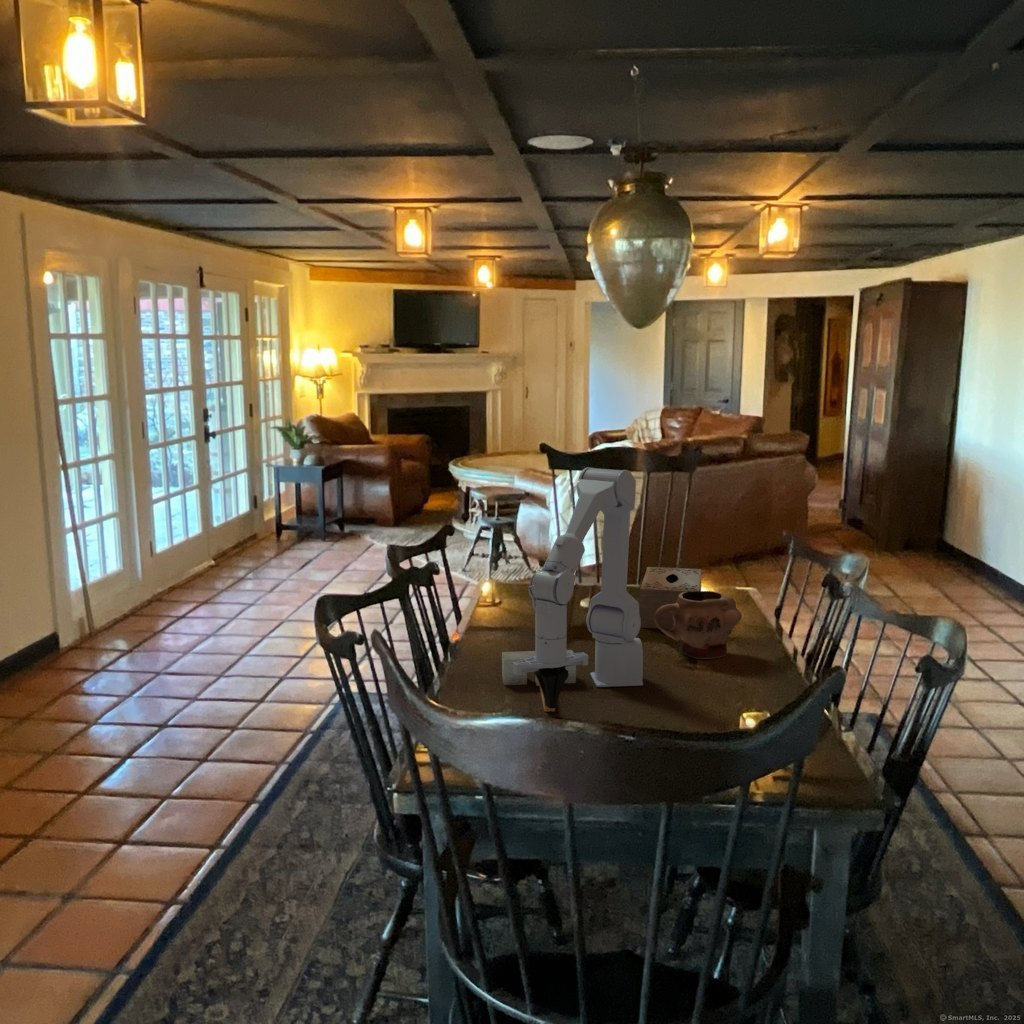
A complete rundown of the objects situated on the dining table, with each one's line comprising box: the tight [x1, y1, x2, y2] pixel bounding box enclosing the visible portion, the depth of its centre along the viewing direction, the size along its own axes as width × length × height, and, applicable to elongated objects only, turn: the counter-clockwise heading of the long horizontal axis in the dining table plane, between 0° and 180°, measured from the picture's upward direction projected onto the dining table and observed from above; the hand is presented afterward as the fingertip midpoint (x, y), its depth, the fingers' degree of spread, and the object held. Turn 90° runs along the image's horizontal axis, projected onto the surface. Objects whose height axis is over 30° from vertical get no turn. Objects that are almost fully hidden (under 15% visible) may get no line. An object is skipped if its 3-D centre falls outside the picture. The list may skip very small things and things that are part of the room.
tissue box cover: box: [639, 566, 703, 630], centre depth 237 cm, size 26×14×10 cm, turn 168°
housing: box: [501, 649, 577, 686], centre depth 189 cm, size 15×5×5 cm, turn 95°
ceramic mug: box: [654, 590, 743, 660], centre depth 204 cm, size 20×12×14 cm, turn 105°
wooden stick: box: [534, 674, 556, 713], centre depth 180 cm, size 17×3×3 cm, turn 2°
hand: (550, 706), depth 170 cm, fingers closed
